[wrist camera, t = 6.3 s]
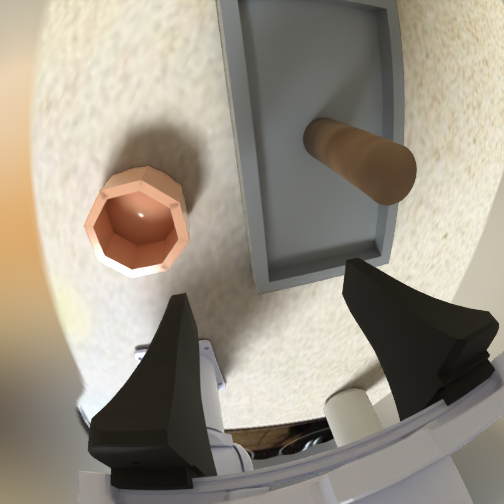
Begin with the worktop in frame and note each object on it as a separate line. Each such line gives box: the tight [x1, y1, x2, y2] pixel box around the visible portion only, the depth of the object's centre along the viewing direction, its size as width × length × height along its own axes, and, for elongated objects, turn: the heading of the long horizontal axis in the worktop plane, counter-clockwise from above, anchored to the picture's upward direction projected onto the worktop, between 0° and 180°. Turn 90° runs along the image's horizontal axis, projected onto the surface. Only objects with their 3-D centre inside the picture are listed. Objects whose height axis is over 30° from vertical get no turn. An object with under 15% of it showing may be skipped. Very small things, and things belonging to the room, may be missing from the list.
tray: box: [216, 0, 404, 295], centre depth 18 cm, size 22×12×2 cm, turn 6°
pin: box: [303, 118, 417, 205], centre depth 15 cm, size 3×3×8 cm
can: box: [323, 388, 387, 462], centre depth 37 cm, size 8×8×12 cm
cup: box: [84, 166, 189, 278], centre depth 18 cm, size 6×6×4 cm
